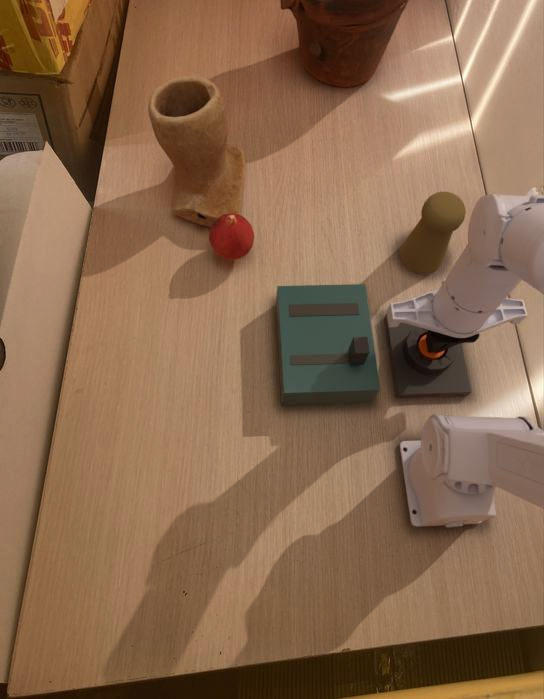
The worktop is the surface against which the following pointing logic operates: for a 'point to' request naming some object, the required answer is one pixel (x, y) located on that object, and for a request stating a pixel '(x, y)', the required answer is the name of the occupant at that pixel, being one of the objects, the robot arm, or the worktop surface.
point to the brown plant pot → (344, 36)
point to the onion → (231, 236)
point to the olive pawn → (432, 233)
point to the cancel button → (424, 352)
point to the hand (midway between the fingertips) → (432, 345)
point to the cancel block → (424, 366)
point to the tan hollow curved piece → (198, 149)
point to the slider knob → (358, 350)
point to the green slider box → (324, 345)
